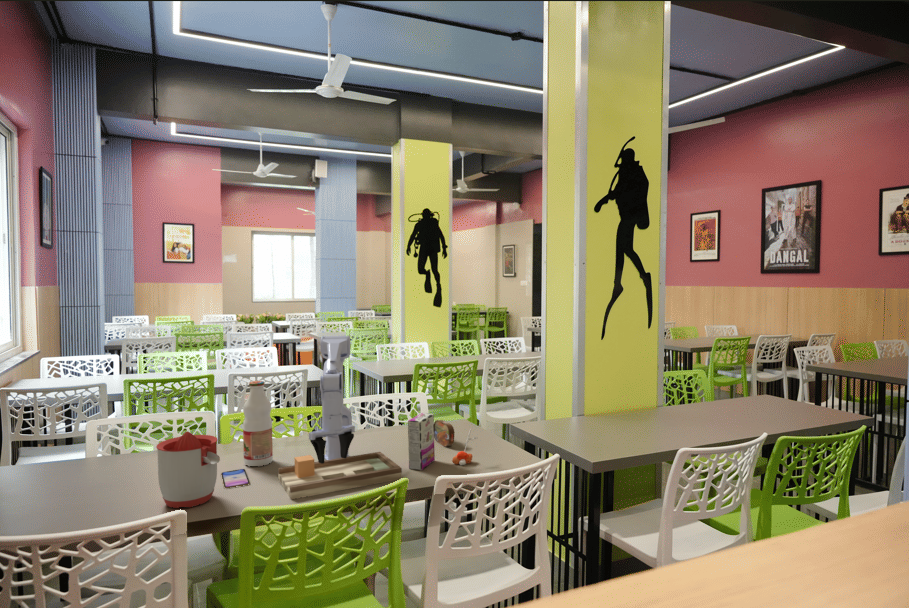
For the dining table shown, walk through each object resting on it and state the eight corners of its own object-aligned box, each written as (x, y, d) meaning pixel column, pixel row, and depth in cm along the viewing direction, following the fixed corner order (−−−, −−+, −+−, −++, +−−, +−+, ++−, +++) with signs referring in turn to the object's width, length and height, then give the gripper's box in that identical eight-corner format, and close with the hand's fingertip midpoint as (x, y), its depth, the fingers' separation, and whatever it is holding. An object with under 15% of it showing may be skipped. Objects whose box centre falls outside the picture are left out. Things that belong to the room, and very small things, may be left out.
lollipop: (481, 464, 187) (481, 429, 186) (454, 467, 184) (454, 431, 184) (475, 459, 193) (475, 425, 192) (449, 461, 190) (449, 427, 189)
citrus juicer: (197, 516, 147) (195, 441, 146) (144, 509, 152) (142, 437, 151) (235, 494, 162) (234, 426, 161) (186, 488, 167) (184, 422, 166)
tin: (432, 439, 218) (432, 417, 217) (439, 438, 219) (439, 417, 219) (448, 449, 204) (448, 426, 204) (456, 448, 205) (455, 425, 205)
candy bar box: (421, 459, 193) (421, 412, 192) (435, 460, 191) (434, 413, 190) (407, 469, 182) (407, 420, 182) (421, 471, 181) (421, 421, 180)
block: (294, 473, 174) (294, 457, 173) (310, 470, 176) (310, 454, 176) (298, 478, 169) (298, 461, 169) (314, 475, 172) (314, 459, 171)
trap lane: (278, 478, 174) (278, 467, 174) (380, 461, 190) (380, 451, 190) (290, 499, 157) (290, 487, 157) (401, 478, 173) (401, 467, 173)
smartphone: (223, 490, 166) (223, 487, 166) (220, 474, 179) (220, 471, 179) (250, 486, 169) (250, 482, 169) (245, 471, 183) (245, 468, 183)
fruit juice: (264, 468, 185) (262, 384, 184) (238, 466, 186) (236, 384, 185) (277, 459, 194) (276, 379, 193) (252, 457, 195) (250, 379, 194)
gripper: (317, 419, 156) (318, 467, 156) (360, 412, 166) (360, 457, 166) (304, 416, 161) (305, 463, 161) (347, 409, 171) (347, 454, 171)
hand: (332, 460), depth 164 cm, fingers open, 7 cm apart
